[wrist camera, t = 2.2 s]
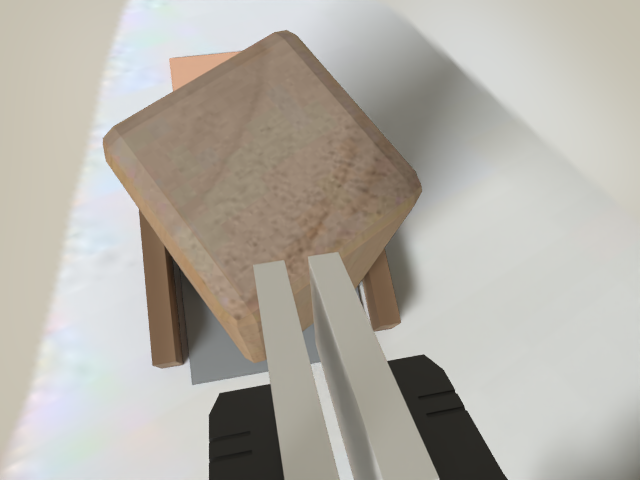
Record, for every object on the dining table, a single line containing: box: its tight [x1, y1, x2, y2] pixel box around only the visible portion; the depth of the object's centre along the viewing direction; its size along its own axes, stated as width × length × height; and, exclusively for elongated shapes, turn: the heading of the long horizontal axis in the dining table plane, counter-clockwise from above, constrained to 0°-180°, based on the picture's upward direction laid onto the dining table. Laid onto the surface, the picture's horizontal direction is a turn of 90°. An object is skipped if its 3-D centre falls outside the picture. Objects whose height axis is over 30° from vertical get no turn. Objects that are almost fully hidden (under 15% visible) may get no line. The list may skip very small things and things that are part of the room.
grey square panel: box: [180, 269, 360, 385], centre depth 40 cm, size 13×15×1 cm
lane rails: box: [139, 209, 401, 368], centre depth 39 cm, size 17×13×3 cm
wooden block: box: [103, 30, 422, 363], centre depth 30 cm, size 10×10×20 cm
